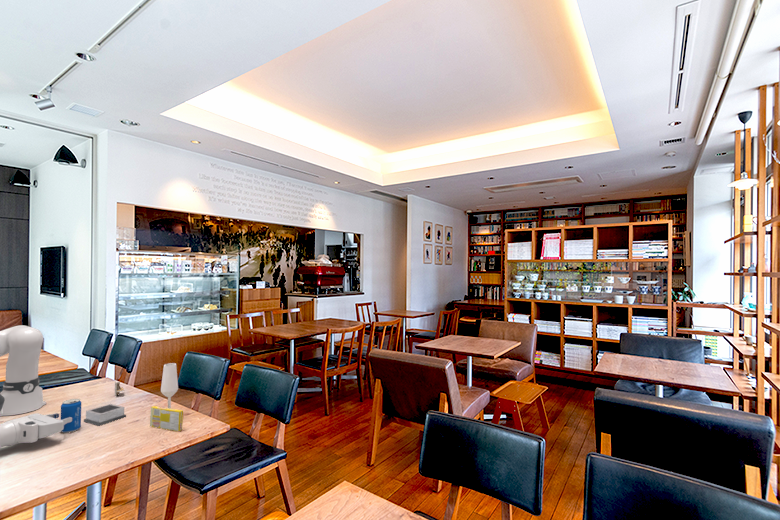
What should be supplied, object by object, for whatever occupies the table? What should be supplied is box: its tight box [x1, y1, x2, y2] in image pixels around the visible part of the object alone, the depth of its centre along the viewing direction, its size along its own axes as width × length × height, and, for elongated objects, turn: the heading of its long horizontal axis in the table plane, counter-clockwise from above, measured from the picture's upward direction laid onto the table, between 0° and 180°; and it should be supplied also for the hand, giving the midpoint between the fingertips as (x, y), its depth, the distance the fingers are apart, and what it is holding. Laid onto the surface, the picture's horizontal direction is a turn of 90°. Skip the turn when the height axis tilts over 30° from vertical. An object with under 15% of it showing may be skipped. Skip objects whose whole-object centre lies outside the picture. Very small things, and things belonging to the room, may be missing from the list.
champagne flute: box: [160, 362, 179, 409], centre depth 170 cm, size 7×7×24 cm
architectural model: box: [114, 381, 125, 397], centre depth 201 cm, size 3×7×7 cm, turn 41°
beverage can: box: [60, 398, 82, 434], centre depth 157 cm, size 6×6×12 cm
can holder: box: [83, 403, 127, 427], centre depth 169 cm, size 11×11×4 cm
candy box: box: [149, 405, 184, 432], centre depth 160 cm, size 16×2×8 cm, turn 71°
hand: (64, 417), depth 155 cm, fingers open, 8 cm apart
